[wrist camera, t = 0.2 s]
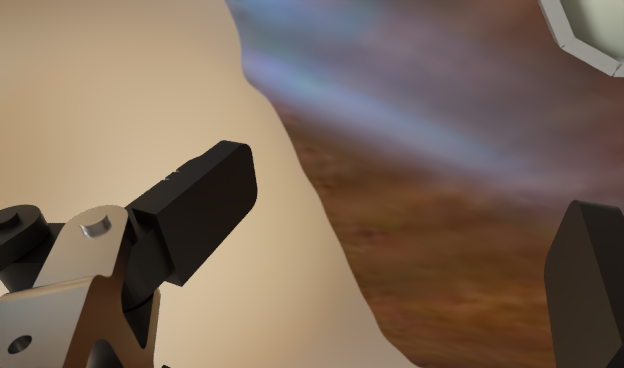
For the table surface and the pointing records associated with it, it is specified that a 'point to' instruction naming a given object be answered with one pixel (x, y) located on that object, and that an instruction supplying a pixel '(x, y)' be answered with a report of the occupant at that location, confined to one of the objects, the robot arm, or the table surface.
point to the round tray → (589, 31)
